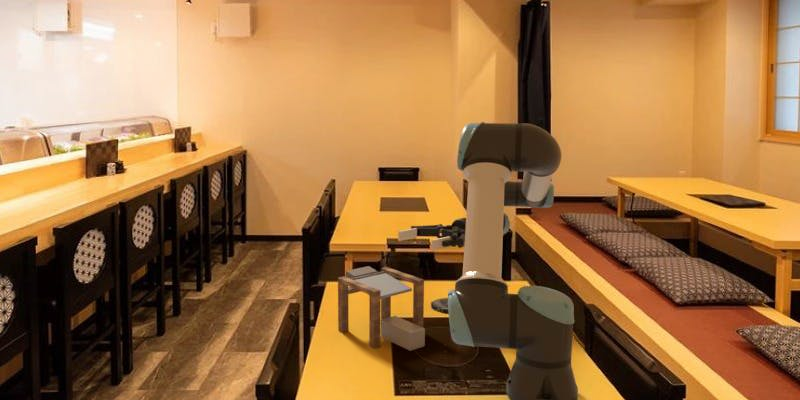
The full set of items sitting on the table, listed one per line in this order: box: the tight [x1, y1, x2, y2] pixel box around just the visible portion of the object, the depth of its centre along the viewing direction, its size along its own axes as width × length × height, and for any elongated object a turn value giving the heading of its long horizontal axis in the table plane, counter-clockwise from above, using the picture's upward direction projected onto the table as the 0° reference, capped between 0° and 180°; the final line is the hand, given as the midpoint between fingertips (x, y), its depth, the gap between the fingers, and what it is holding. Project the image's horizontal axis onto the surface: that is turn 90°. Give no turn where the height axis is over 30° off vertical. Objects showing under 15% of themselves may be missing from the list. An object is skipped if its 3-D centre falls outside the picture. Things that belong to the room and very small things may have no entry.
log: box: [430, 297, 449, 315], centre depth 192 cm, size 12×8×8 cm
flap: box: [345, 265, 413, 300], centre depth 172 cm, size 17×12×2 cm
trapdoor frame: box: [337, 266, 425, 349], centre depth 171 cm, size 16×17×15 cm
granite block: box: [380, 315, 426, 352], centre depth 165 cm, size 5×5×12 cm
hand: (414, 240), depth 172 cm, fingers open, 13 cm apart
